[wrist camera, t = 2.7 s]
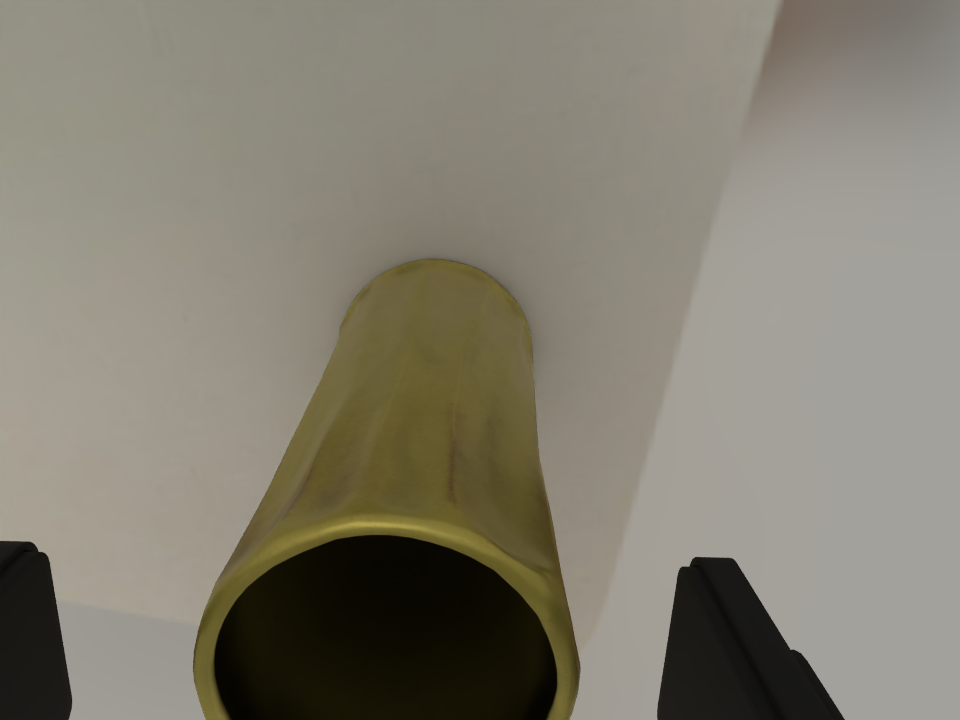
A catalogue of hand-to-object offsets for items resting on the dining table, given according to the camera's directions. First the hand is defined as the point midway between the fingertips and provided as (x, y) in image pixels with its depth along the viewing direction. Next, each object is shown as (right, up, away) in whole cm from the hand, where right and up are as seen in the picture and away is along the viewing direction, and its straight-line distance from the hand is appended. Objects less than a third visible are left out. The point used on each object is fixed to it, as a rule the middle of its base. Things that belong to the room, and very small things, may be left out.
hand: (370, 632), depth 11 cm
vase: (0, +4, +13) cm, 13 cm away
